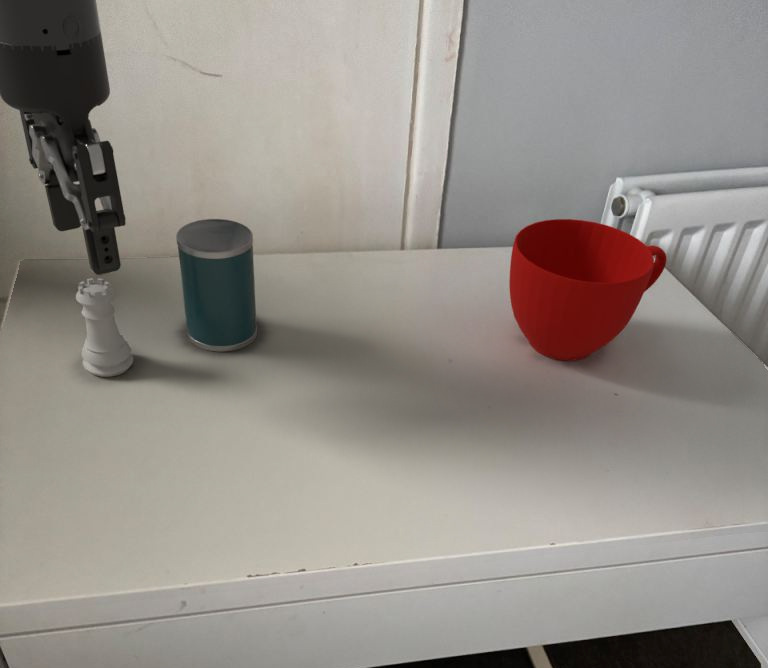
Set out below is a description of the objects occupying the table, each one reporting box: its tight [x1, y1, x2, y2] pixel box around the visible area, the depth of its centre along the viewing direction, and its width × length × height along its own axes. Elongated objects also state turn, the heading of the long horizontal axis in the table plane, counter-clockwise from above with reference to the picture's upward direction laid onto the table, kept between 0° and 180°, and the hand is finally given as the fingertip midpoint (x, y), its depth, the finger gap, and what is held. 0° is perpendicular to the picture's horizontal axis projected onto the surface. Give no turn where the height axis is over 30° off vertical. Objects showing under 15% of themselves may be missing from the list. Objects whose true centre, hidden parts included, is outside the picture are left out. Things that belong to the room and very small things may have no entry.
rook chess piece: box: [75, 277, 134, 378], centre depth 73 cm, size 4×4×8 cm
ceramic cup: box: [508, 218, 667, 361], centre depth 81 cm, size 13×17×10 cm
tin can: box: [175, 218, 258, 353], centre depth 78 cm, size 7×7×10 cm
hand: (87, 249), depth 68 cm, fingers open, 8 cm apart
